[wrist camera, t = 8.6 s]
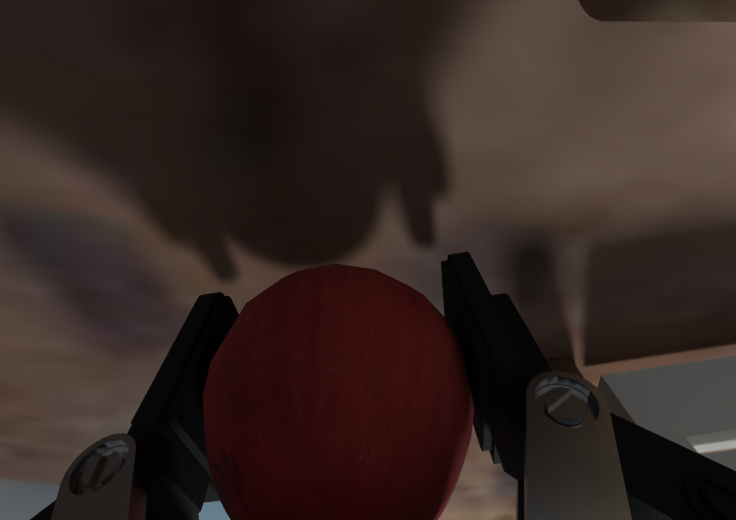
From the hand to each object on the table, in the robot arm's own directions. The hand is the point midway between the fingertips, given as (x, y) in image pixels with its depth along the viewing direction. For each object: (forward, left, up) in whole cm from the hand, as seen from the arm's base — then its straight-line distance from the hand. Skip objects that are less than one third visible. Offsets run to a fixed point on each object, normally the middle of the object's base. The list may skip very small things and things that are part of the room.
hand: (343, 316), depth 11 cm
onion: (0, 0, -1) cm, 1 cm away
